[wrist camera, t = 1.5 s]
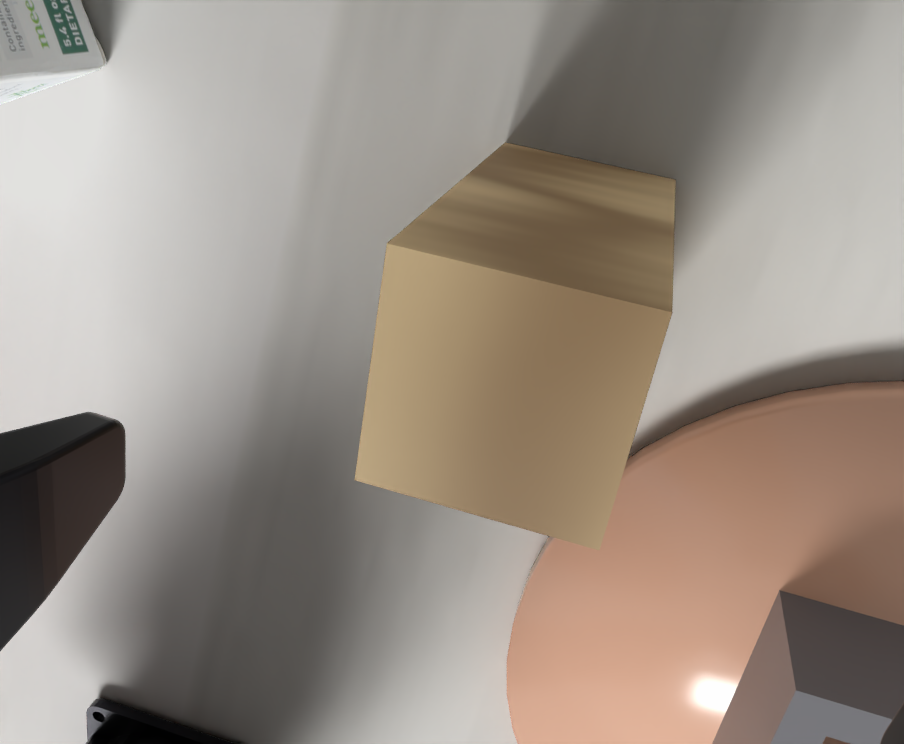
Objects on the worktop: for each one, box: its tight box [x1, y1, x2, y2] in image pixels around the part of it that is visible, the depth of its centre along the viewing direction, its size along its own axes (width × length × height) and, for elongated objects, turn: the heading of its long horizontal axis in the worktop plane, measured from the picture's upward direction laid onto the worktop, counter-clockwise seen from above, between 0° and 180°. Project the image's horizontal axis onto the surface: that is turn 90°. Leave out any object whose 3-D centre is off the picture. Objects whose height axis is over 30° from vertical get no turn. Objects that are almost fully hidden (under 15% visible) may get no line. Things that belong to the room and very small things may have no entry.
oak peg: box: [355, 142, 675, 550], centre depth 16 cm, size 4×4×9 cm
